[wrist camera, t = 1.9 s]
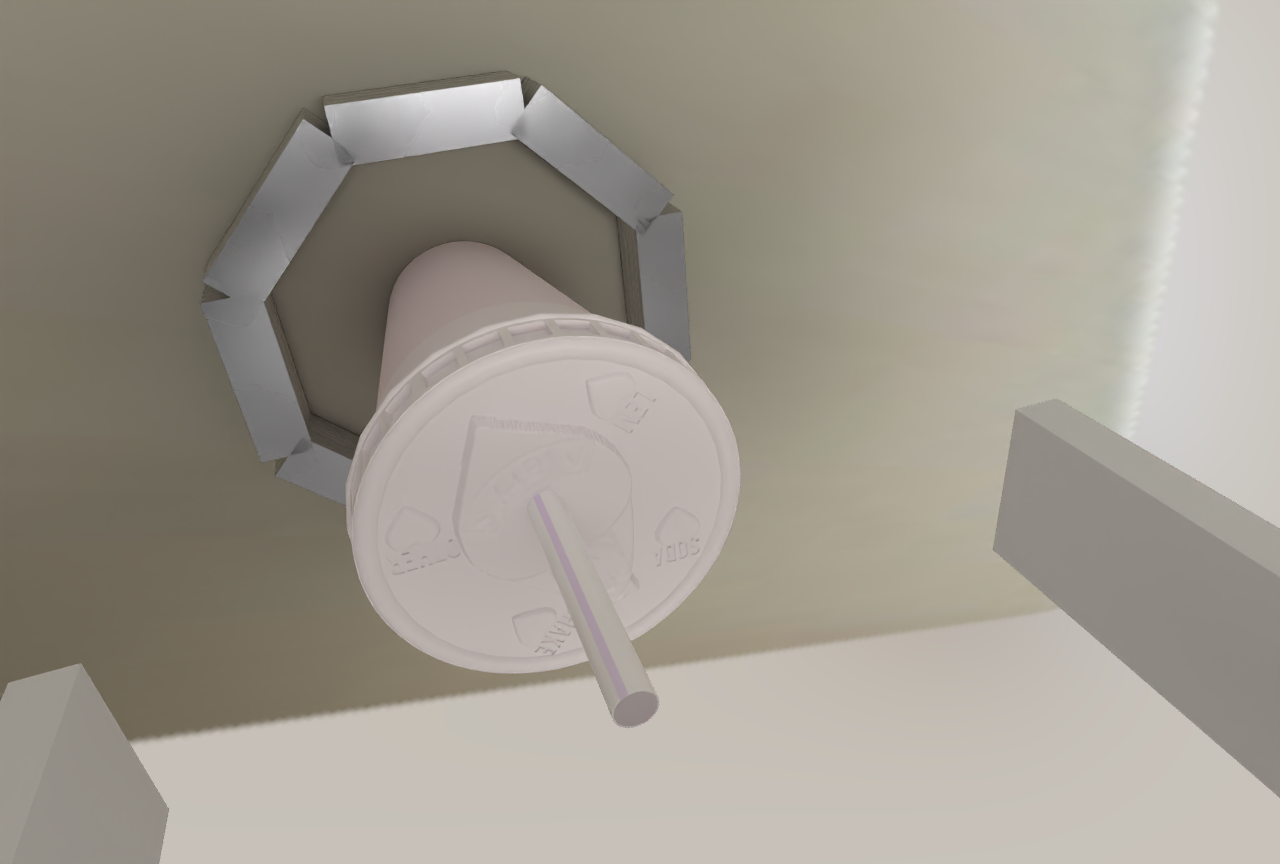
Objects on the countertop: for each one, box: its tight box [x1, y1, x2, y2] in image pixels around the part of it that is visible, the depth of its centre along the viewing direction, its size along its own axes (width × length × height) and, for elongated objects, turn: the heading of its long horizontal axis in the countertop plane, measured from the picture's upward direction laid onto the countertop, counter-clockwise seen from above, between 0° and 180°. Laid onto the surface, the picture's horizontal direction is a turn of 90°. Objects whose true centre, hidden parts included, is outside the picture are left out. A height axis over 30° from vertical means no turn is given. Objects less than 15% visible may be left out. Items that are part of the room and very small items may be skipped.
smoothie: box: [346, 241, 740, 728], centre depth 15 cm, size 6×6×14 cm
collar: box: [200, 71, 691, 506], centre depth 20 cm, size 11×11×2 cm
